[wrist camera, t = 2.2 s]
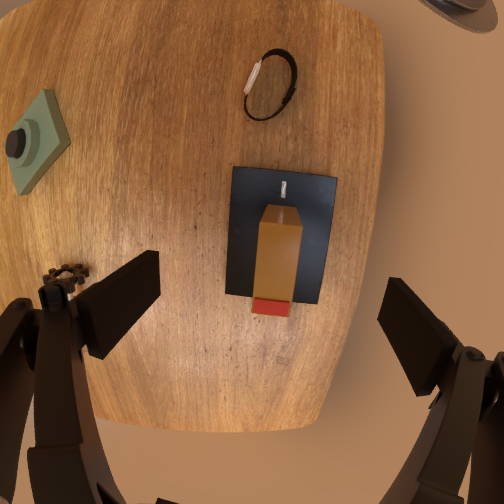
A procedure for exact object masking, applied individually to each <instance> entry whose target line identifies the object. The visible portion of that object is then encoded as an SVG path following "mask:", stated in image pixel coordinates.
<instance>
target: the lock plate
mask: <svg viewBox="0 0 504 504" xmlns="http://www.w3.org/2000/svg"><path fill="white" fill-rule="evenodd" d="M336 186H337V178H336V177H330V176H323V175H316V174H308V173H300V172H292V171H283V170H273V169H262V168H250V167H236V166H233V172H232V185H231V199H230V214H229V230H228V247H227V265H226V284H225V294H230V295H238V296H245V297H253V288H254V277H255V267H256V256H257V245H258V234H259V223H260V221H261V218H262V216H263V214H264V212H265V209H266V207H267V205H268V204H271V205H280V206H289V207H296V208H297V211H298V214H299V217H300V220H301V223H302V226H303V230H302V238H301V245H300V252H299V260H298V266H297V273H296V280H295V286H294V293H293V299H292V302H297V303H307V304H318V299H319V294H320V289H321V284H322V278H323V273H324V267H325V262H326V256H327V250H328V244H329V238H330V231H331V224H332V217H333V210H334V202H335V194H336Z"/></svg>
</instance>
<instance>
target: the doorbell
mask: <svg viewBox="0 0 504 504" xmlns="http://www.w3.org/2000/svg"><path fill="white" fill-rule="evenodd" d="M13 130H23V131H25V134H26V146H25V149H24V152H23V154H22V155H21V156H19V157H8V156H7V159H8V163H9V166H10V170H11V173H12V177H13V180H14V183H15V186H16V189H17V192H18V195H19V196H22V195H26V194H29V193H30V192H31V190H32V189H33V188H34V186H35V185H36V184H37V182H38V181H39V180H40V179H41V177H42V176H43V175H44V173H45V172H46V171H47V170H48V169H49V167H50V166H51V165H52V164H53V163H54V161H55V160H56V159H57V158H58V157H59V156H60V155H61V153H62V152H63V151H64V150H65V149H66V148H67V147H68V146H69V145H70V144H71V141H70V138H69V136H68V133H67V130H66V128H65V125H64V122H63V119H62V116H61V113H60V110H59V107H58V104H57V101H56V98H55V94H54V91H53V90H48V89H42V91H41V92H40V93H39V94H38V96H37V97H36V98H35V99H34V101H33V102H32V103H31V105H30V106H29V107H28V109H27V110H26V112H25V113H24V114H23V116H22V117H21V119H20V120H19V121H18V122H17V123H16V124H15V126H14V127H13V129H12V131H13ZM5 145H6V142H5V143H4V147H5ZM5 151H6V150H5ZM6 155H7V154H6Z"/></svg>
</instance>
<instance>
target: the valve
mask: <svg viewBox="0 0 504 504" xmlns="http://www.w3.org/2000/svg"><path fill="white" fill-rule="evenodd" d="M71 273H73V276H72V274H71ZM84 275H85V277H86V278H87V277H89V270H88V268H82V265H81V264H76V265H74V267H69V265H68V264H64V265H62V266H61V269H58V270H56V269H55V268H52V269H50V270H49V274H47V275H44V276H43V282H44V284H45V285H46V284H50V283H63V284H64V285H65V286H66V289H67V294H68V299H69V301H70V300H71V299H73V298H74V297H75V296H73V292H74V291H75V284H76V283H77V281H78V285H82V284H84V283H85V279H84ZM57 276H60V279H58V278H56V277H57ZM81 350H82V353H83V354H84V353H85V352H87V351H88V349H87V346H86V345H85V346H84V347H83V348H82V349H81Z"/></svg>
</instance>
